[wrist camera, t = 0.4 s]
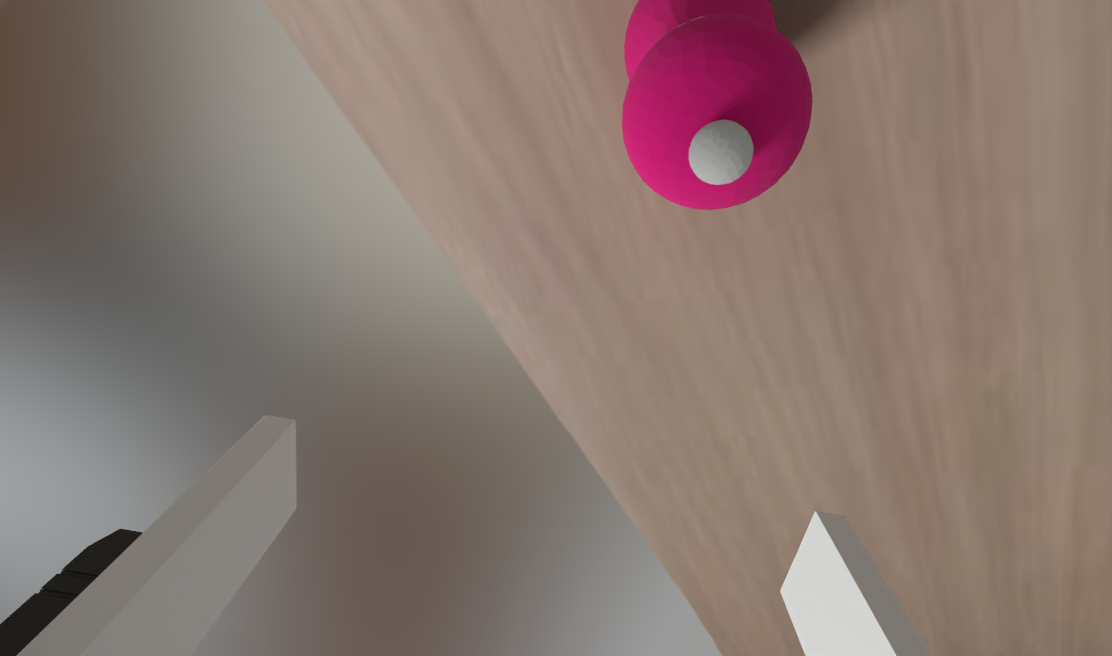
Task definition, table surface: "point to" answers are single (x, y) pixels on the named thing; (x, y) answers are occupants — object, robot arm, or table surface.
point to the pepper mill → (712, 100)
